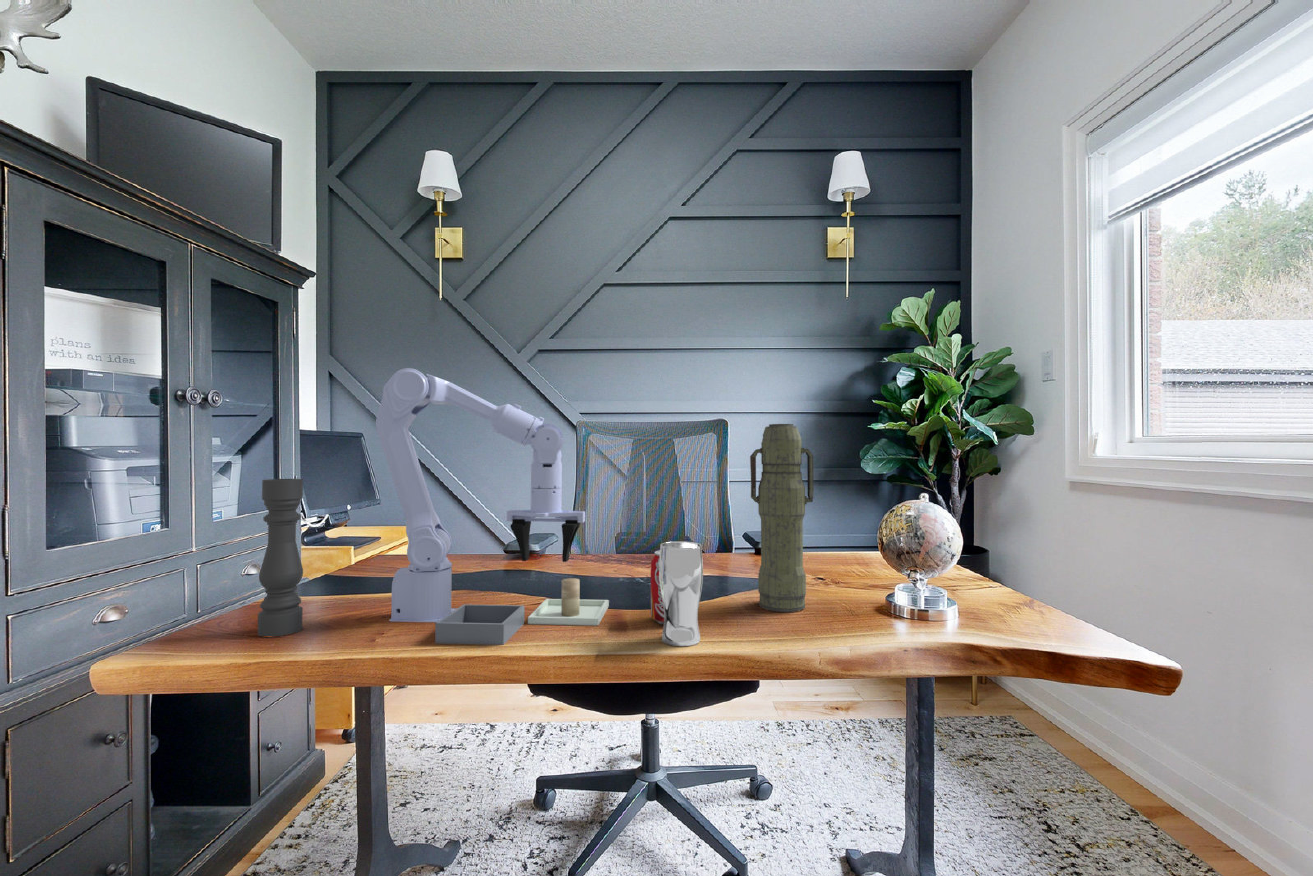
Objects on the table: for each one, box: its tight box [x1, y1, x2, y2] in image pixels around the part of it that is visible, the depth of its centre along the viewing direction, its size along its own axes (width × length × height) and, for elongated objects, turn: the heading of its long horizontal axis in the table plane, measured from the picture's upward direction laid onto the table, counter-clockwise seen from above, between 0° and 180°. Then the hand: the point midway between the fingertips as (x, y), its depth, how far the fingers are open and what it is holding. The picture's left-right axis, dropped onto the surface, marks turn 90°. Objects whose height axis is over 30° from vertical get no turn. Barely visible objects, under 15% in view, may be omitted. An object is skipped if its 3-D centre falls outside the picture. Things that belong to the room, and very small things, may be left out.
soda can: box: [650, 549, 664, 626], centre depth 99 cm, size 7×7×12 cm
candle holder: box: [257, 478, 304, 637], centre depth 93 cm, size 6×6×25 cm
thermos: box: [749, 423, 814, 613], centre depth 109 cm, size 9×12×35 cm
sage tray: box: [527, 598, 610, 626], centre depth 101 cm, size 12×12×2 cm
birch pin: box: [561, 577, 581, 617], centre depth 101 cm, size 3×3×6 cm
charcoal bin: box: [434, 604, 525, 646], centre depth 91 cm, size 11×11×4 cm
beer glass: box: [659, 540, 704, 647], centre depth 89 cm, size 7×7×15 cm
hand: (545, 560), depth 105 cm, fingers open, 7 cm apart
